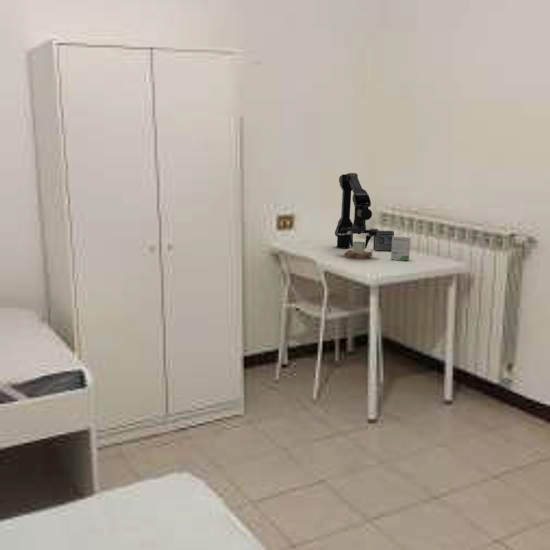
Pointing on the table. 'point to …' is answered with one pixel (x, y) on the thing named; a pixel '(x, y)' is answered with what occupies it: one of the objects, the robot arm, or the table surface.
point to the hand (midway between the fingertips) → (358, 248)
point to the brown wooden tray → (358, 254)
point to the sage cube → (358, 247)
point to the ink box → (400, 248)
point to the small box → (383, 241)
